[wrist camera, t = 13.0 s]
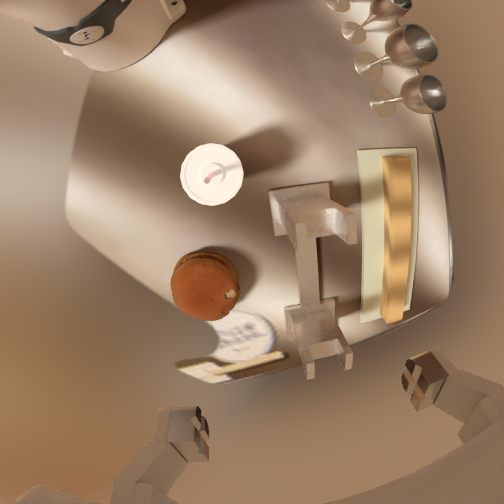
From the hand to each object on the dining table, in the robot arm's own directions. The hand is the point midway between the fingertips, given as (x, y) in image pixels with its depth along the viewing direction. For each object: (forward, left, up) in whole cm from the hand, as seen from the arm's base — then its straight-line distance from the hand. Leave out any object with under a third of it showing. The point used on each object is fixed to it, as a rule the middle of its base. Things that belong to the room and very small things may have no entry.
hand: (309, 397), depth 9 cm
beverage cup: (-6, -4, -30) cm, 31 cm away
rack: (+10, +6, -30) cm, 32 cm away
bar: (+8, +20, -29) cm, 36 cm away
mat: (+8, +20, -30) cm, 37 cm away
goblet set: (-25, +18, -30) cm, 43 cm away
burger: (+9, -8, -30) cm, 32 cm away
